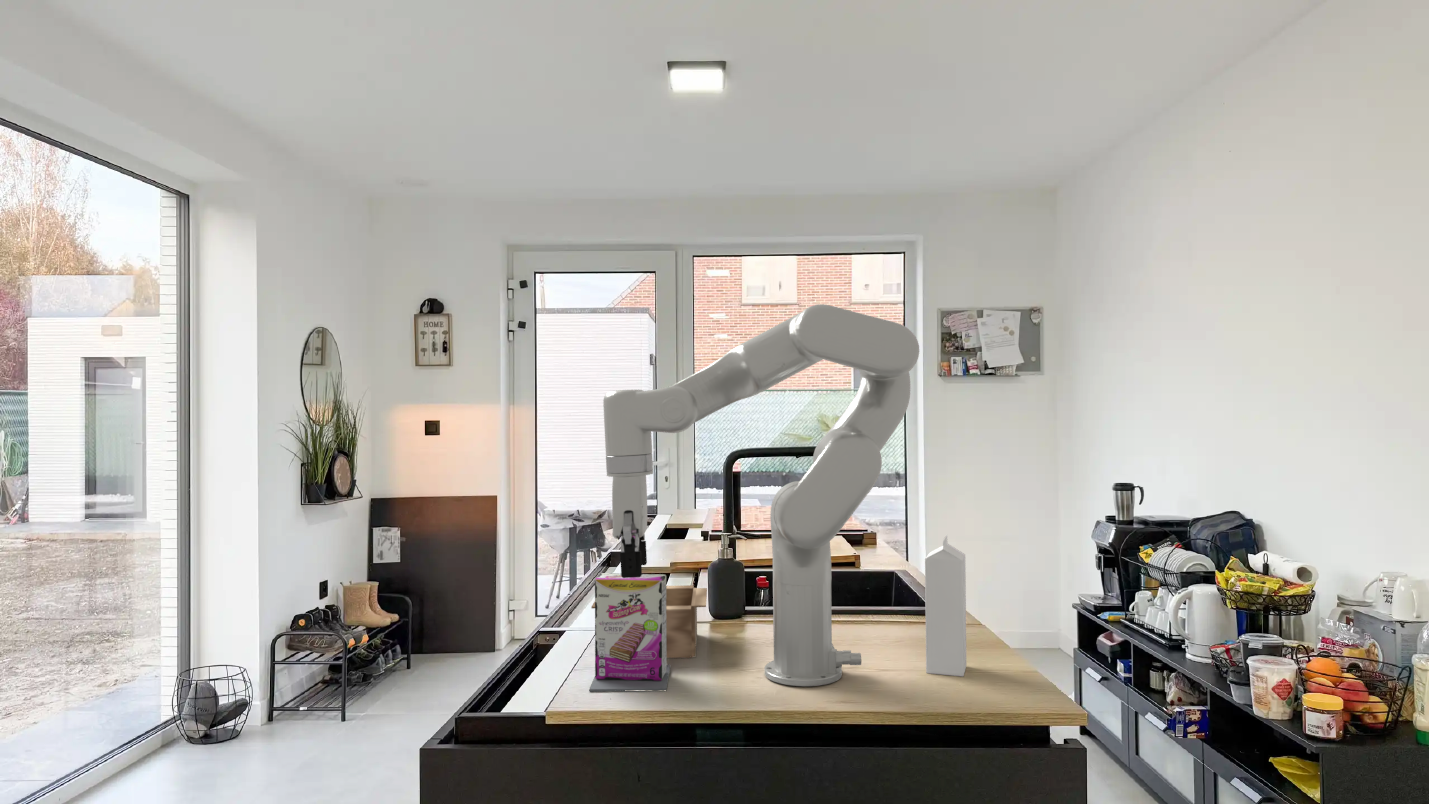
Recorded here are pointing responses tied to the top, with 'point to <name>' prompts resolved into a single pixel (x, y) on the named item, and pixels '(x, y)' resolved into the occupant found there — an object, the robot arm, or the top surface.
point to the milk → (945, 611)
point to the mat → (629, 684)
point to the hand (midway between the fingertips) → (634, 570)
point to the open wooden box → (682, 619)
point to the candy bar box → (630, 627)
